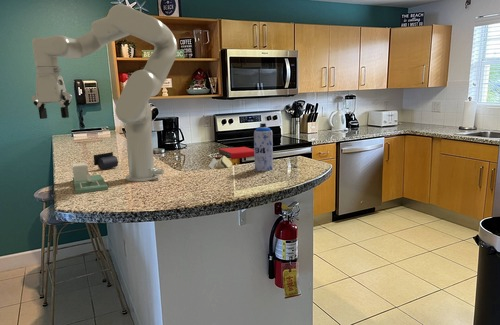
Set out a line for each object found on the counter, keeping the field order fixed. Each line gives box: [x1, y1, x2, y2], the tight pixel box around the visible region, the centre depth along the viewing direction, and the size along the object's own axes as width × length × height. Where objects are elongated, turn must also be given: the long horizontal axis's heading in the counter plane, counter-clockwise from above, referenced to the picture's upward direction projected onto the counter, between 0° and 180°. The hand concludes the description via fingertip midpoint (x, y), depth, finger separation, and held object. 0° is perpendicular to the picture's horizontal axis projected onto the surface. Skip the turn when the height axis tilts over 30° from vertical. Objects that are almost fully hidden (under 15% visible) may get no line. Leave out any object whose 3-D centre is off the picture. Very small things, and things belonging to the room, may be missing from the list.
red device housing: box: [218, 146, 255, 161], centre depth 181 cm, size 18×14×5 cm
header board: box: [72, 174, 109, 195], centre depth 132 cm, size 24×10×1 cm, turn 28°
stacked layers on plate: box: [208, 155, 233, 170], centre depth 157 cm, size 10×9×6 cm
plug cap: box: [71, 162, 89, 182], centre depth 137 cm, size 8×5×6 cm, turn 28°
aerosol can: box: [253, 123, 274, 172], centre depth 145 cm, size 8×8×20 cm
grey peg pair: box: [86, 173, 92, 185], centre depth 127 cm, size 4×1×4 cm, turn 28°
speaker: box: [93, 151, 119, 171], centre depth 163 cm, size 7×5×9 cm
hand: (54, 118), depth 138 cm, fingers open, 9 cm apart
